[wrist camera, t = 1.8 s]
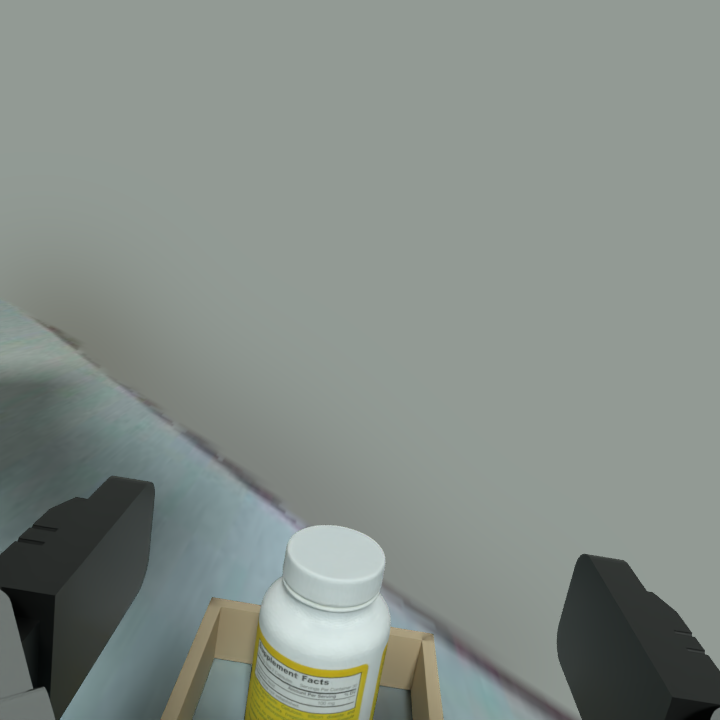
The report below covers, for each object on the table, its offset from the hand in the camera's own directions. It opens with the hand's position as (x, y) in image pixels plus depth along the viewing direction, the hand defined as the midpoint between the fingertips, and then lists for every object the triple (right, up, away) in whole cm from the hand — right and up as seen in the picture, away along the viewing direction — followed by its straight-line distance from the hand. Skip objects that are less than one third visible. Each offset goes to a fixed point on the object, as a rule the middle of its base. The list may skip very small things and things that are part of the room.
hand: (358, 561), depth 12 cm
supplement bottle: (-3, -13, +16) cm, 21 cm away
